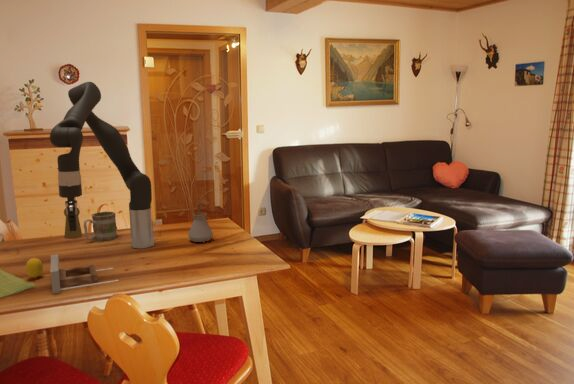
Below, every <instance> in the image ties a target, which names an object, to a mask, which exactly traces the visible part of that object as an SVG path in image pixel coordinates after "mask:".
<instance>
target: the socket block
mask: <svg viewBox="0 0 574 384" xmlns="http://www.w3.org/2000/svg"><path fill="white" fill-rule="evenodd" d="M96 270H97V269H96V266H95V264H90V265H84V266H75V267H69V268H61V269H60V270H59V273H60V289H61V288H68V287H74V286H80V285H87V284H93V283H99V281H98V273H97V272H96Z"/></svg>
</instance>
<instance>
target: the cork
mask: <svg viewBox="0 0 574 384" xmlns="http://www.w3.org/2000/svg"><path fill="white" fill-rule="evenodd" d="M80 213H81V212H80V208H78V207H77V214H76V231H73V230H72V231H70V228H69V221H68V215H67V212H66V207H65V208H64V209H63V214H64V216H65V224H64V225H65V226H64V238H65V239H66V240H69V239H70V240H74V239H79V238H82V237H83V232H82V228H81V227H82V226H81V222H80V218H79V215H80ZM70 217H74V215H70Z"/></svg>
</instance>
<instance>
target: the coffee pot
mask: <svg viewBox="0 0 574 384" xmlns="http://www.w3.org/2000/svg"><path fill="white" fill-rule="evenodd" d="M201 205H202V204H201V203H199V202H198V203H197V212H194V213H192V216H193V221H192V224H191V226H190V228H189V231H188V234H187V237H188V239H189V240H190V241H191V242H193V241H194V242H193V243H195V242H203V243H205V242H204V241H207V242H209V241H210V240H211V239H212V237H213V235H214V233H213V231H212V229H211V227H210V225H209V222H208V221H207V218H206V217H207V215H208V213H207V212H203V211H202V212H201ZM208 240H209V241H208Z"/></svg>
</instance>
